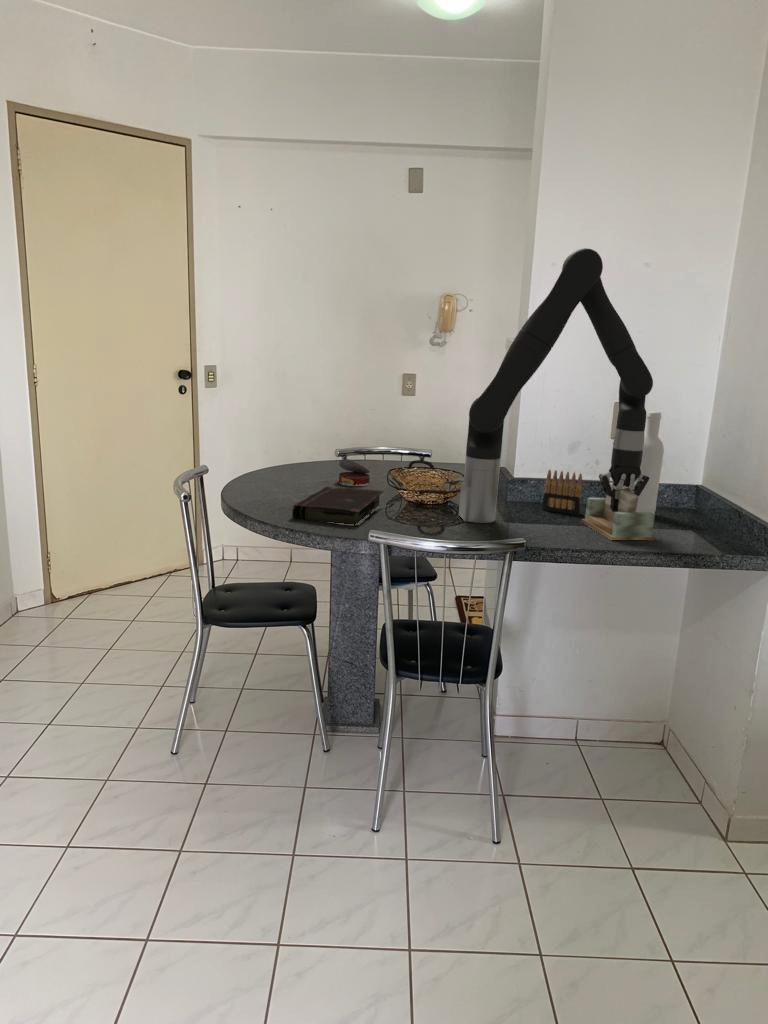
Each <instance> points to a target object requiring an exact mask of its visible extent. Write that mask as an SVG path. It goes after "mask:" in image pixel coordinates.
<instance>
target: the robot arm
mask: <svg viewBox="0 0 768 1024" xmlns="http://www.w3.org/2000/svg"><path fill="white" fill-rule="evenodd" d="M563 261H564V262H563V264H562V267H561V272H560V274H559V275H558V277H557V279H556V281H555V283H554V285H553V287H552V288H551V290H550V291H549V293H548V295H547V296H546V298H545V299H544V300H543V301H542V302H541V303H540V304H539V305H538V306H537V308H536V309H535V310H534V311H533V313H531V315H530V316H529V317H528V319H527V320H526V321H525V323H523V326H522V327H521V328H520V330H519V331H518V333H517V334H516V336H515V338H514V340H512V343H511V344H510V346H509V347H508V350H507V352H506V353H505V356H504V357H503V359H502V362H501V364H500V365H499V368H498V371H497V372H496V374H495V376H494V377H493V379H492V380H491V382H490V383H489V384H488V386H487V387H486V388H485V389H484V391H483V392H482V394H480V395H479V397H477V398H476V399H475V400H474V401H472V403H471V405H470V408H469V412H468V429H467V440H466V448H465V449H466V451H465V462H464V474H463V475H464V476H463V481H462V482H461V483H460V496H459V505H458V506H459V508H458V517H459V516H460V517H461V518H462V519H463V520H462V519H461V518H460V517H459V518H460V519H461V520H462V521H463V522H466V523H467V522H469V523H475V524H476V523H477V524H490V523H494V522H495V521H496V514H497V513H496V511H497V501H498V492H499V491H498V490H499V479H500V471H501V459H502V451H503V449H502V448H503V447H502V446H503V437H504V436H503V434H504V426H505V425H504V424H505V419H506V417H507V414H508V412H509V411H510V408H511V406H512V405H513V404H514V401H515V399H516V398H517V396H518V395H519V393H520V391H521V390H522V389H523V387H524V386H525V385H526V384H527V383H528V381H529V380H530V379H531V378H532V377H533V375H534V374H535V373H536V372H537V371H538V370H539V368H540V367H541V365H542V364H543V362H544V361H545V359H546V358H547V357H548V355H549V353H550V352H551V351H552V349H553V347H554V346H555V344H556V342H557V341H558V340H559V338H560V336H561V334H562V332H563V330H564V328H565V327H566V325H567V323H568V322H569V320H570V317H571V316H572V314H573V312H574V311H575V309H576V308H577V306H578V305H579V304H580V303H581V306H582V307H583V309H584V310H585V312H586V314H587V316H588V318H589V320H590V322H591V325H592V326H593V329H594V331H595V333H596V336H597V337H598V340H599V341H600V345H601V347H602V348H603V350H604V352H605V355H606V356H607V358H608V360H609V362H610V364H611V365H612V366H613V367H614V368H615V370H616V372H617V375H618V377H619V378H620V380H619V386H618V387H619V388H618V414H617V419H616V427H615V428H616V429H615V433H614V436H613V442H612V451H611V460H610V465H611V466H610V468H609V469H608V472H606V473H604V474H603V473H600V474H599V475H598V479H599V480H600V484H601V486H602V489H603V492H604V494H605V496H606V495H608V496H610V497H611V504H610V509H611V510H612V512H618V504H619V499H618V498H619V496H620V491H621V490H622V488H623V487H625V488H626V489H628V490H629V491H631V492H633V493H634V494H636V495H637V496H640V494H641V492H642V491H643V489H644V487H645V486H646V484H647V482H648V481H649V477H648V476H646V475H643V474H642V473H641V470H640V466H641V462H642V455H643V447H644V436H645V430H646V423H647V410H646V406H645V405H646V396H647V395H648V394H650V393H651V392H652V389H653V385H654V379H653V376H652V374H651V372H650V370H649V367H648V366H647V365H646V363H645V362H644V360H643V358H642V357H641V355H640V354H639V352H638V351H637V348H636V345H635V343H634V342H635V341H633V338H632V337H631V334H630V332H629V330H628V328H627V326H626V325H625V322H624V321H623V320H622V317H620V315H619V314H618V312H617V310H616V309H615V306H614V305H613V304H612V303H611V301H610V299H609V296H608V293H607V292H606V290H605V287H604V284H603V280H602V278H601V276H602V272H603V268H604V267H603V266H604V265H603V264H604V263H603V260H602V257H601V255H600V254H599V252H597V251H596V250H594V249H591V248H587V247H586V248H579V249H577V250H574V251H573V252H572V253H570V254H569V255H568V256H567V257H566V259H564V260H563ZM637 479H638V482H637V483H636V485H635V487H634V482H635V481H636V480H637ZM611 480H612V482H610V481H611ZM610 483H612V489H611V486H610Z"/></svg>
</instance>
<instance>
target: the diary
mask: <svg viewBox="0 0 768 1024" xmlns="http://www.w3.org/2000/svg"><path fill="white" fill-rule="evenodd" d="M383 493H384V490H377V489H376V490H375V489H368V488H361V487H360V488H359V487H344V486H342V487H340V486H338V487H337V486H325V487H323V488H322V489H320V490H319V491H317V492H315V493H313V494H310V495H309V496H307V497H306V498H305V499H303V500H301V501H299V502H297V503H294V504H293V506H292V513H291V516H292V520H297V519H299V518H300V520H301V519H303V520H304V518H305V521H310V520H313V521H312V522H318V521H323V522H322V523H326V522H334V523H344V524H354V526H357V527H359V526H358V525H355V524H356V523H358V522H359V521H360V520H361V519H363V518H364V517H365V516H366V515H368V514H369V515H371V512H372V510H373V509H375V508H376V507H377V506H378V505H379V506H380V496H381V494H383ZM299 516H300V517H299ZM296 518H297V519H296Z"/></svg>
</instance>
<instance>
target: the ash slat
mask: <svg viewBox="0 0 768 1024" xmlns="http://www.w3.org/2000/svg"><path fill="white" fill-rule="evenodd" d="M609 483H610V486H611V489H612V483H613V482H609ZM638 497H639V496H637V495H636V494H634V493H633V492H631V491H629V490H628V489H626V488H625V487H624V486H623V488H622V490H621V491H620V496H619V498H618V499H619V504H618V512H636V508H637V503H638ZM605 498H606V501H605V507H604V514H603V518H604V519H605V520H607V521H609V522H611V523H612V524H613V520H614V512H612V510H611V509H610V504H611V497H610V496H608V495H606V494H605Z"/></svg>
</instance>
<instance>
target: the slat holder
mask: <svg viewBox="0 0 768 1024" xmlns="http://www.w3.org/2000/svg"><path fill="white" fill-rule="evenodd" d="M605 501H606V497H587V501H586V507H585V515H584V518H581V521H580V523H581V522H582V524H583V523H584V524H583V525H585V526H586V525H587V526H586V527H588V528H590V529H591V528H592V529H591V530H593V531H594V530H595V531H594V532H596V531H597V532H596V533H598V532H599V533H600V534H599V533H598V534H599V535H601V534H602V535H604V536H605V537H604V536H603V537H604V538H606V537H607V538H608V539H607V538H606V539H607V540H609V539H610V540H609V541H611V540H655V541H656V537H655V536H654V535H653V530H654V523H655V516H656V514H653V513H651V512H614V520H613V524H612V523H611V522H609V521H607V520H605V519H604V518H603V514H604V507H605ZM602 535H601V536H602Z"/></svg>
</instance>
